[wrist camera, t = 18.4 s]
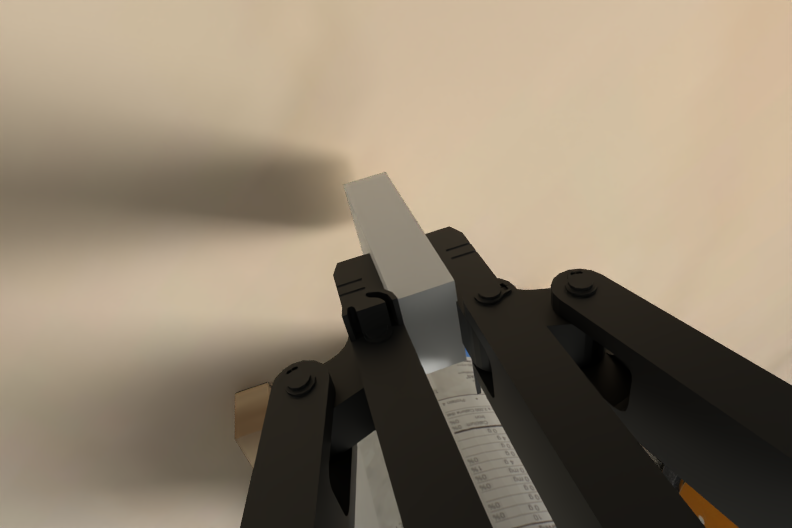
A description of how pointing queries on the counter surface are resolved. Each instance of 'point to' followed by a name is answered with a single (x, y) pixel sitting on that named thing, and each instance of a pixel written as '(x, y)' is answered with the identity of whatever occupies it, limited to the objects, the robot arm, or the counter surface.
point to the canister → (698, 503)
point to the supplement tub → (481, 451)
